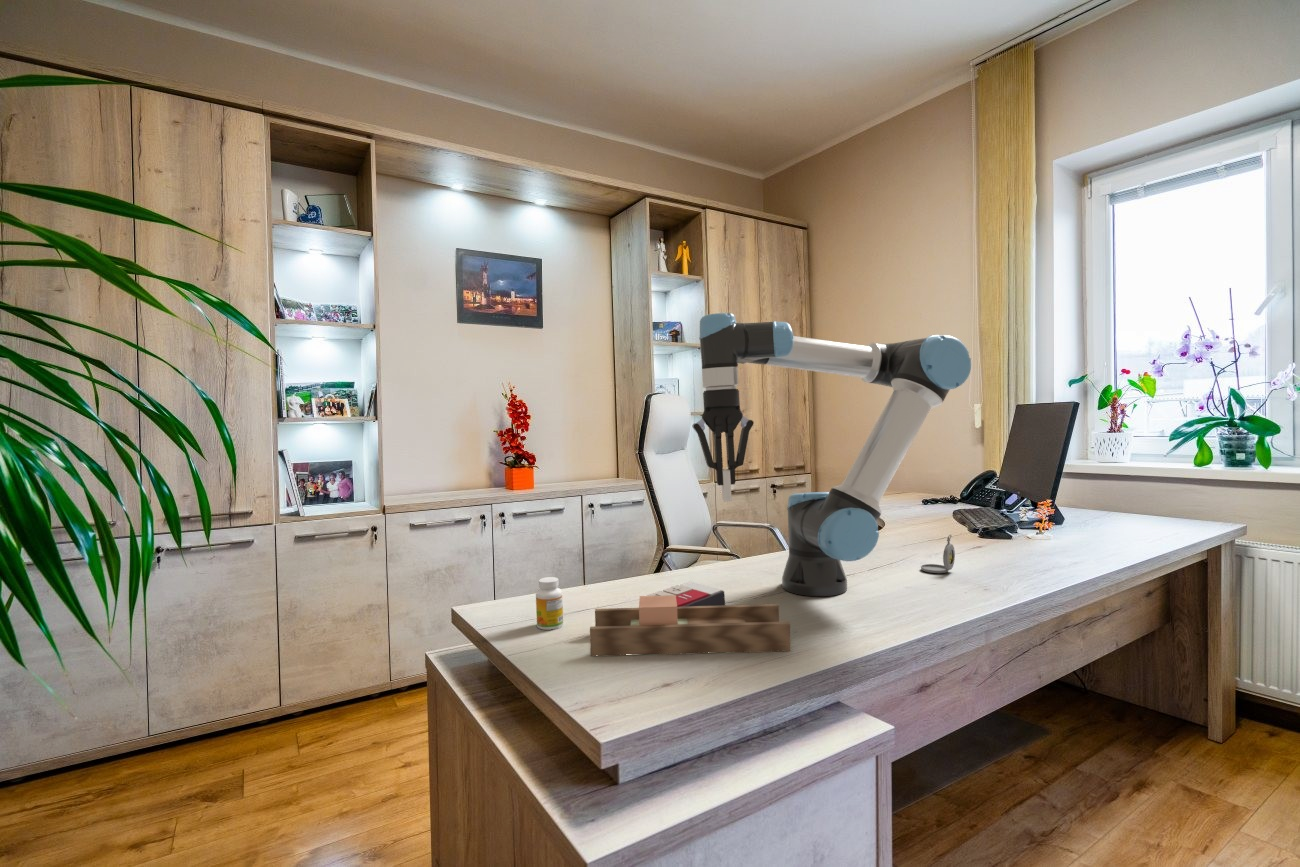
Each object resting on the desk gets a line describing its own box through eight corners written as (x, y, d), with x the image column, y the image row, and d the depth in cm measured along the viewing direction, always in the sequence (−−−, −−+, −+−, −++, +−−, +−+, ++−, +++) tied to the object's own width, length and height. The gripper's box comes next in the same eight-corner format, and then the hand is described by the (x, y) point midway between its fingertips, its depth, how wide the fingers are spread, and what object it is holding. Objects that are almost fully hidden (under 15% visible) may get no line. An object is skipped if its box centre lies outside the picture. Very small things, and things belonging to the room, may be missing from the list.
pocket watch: (917, 567, 170) (917, 530, 169) (951, 568, 169) (951, 530, 168) (926, 576, 162) (926, 536, 161) (962, 576, 160) (961, 536, 160)
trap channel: (778, 628, 127) (777, 604, 127) (790, 651, 116) (789, 623, 115) (596, 633, 127) (595, 608, 127) (590, 656, 116) (589, 628, 116)
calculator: (641, 595, 141) (690, 578, 151) (642, 614, 141) (691, 596, 151) (675, 606, 133) (725, 587, 142) (676, 626, 133) (726, 606, 143)
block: (676, 620, 125) (675, 595, 124) (677, 633, 118) (677, 606, 117) (640, 621, 125) (639, 596, 124) (639, 634, 118) (638, 607, 117)
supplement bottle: (534, 624, 134) (532, 578, 134) (559, 620, 136) (557, 574, 136) (540, 632, 129) (538, 584, 129) (566, 627, 131) (564, 580, 131)
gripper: (747, 387, 139) (753, 495, 140) (687, 390, 138) (694, 499, 139) (755, 386, 131) (761, 500, 132) (692, 390, 130) (698, 505, 132)
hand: (727, 500), depth 136 cm, fingers closed
